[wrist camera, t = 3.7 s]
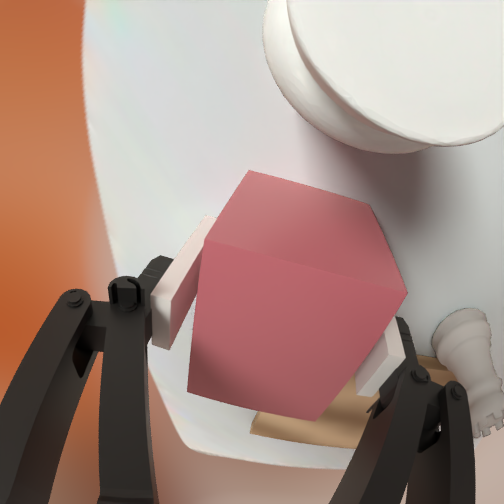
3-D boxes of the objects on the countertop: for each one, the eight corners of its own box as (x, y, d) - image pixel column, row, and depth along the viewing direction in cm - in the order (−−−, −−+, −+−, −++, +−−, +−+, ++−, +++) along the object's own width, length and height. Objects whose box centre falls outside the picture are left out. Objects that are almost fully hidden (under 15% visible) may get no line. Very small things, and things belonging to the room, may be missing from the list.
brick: (249, 169, 14) (204, 238, 8) (368, 203, 14) (407, 293, 8) (222, 297, 18) (187, 392, 12) (317, 321, 18) (314, 421, 12)
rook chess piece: (492, 323, 16) (530, 413, 9) (446, 358, 18) (470, 450, 11) (470, 292, 15) (519, 394, 8) (418, 333, 17) (445, 439, 11)
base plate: (297, 330, 19) (296, 344, 18) (462, 361, 18) (466, 373, 17) (251, 423, 26) (249, 433, 25) (378, 440, 26) (379, 450, 24)
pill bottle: (391, 10, 9) (513, -74, 1) (409, 120, 11) (558, 196, 3) (271, 17, 10) (202, -102, 2) (293, 128, 13) (270, 212, 4)
